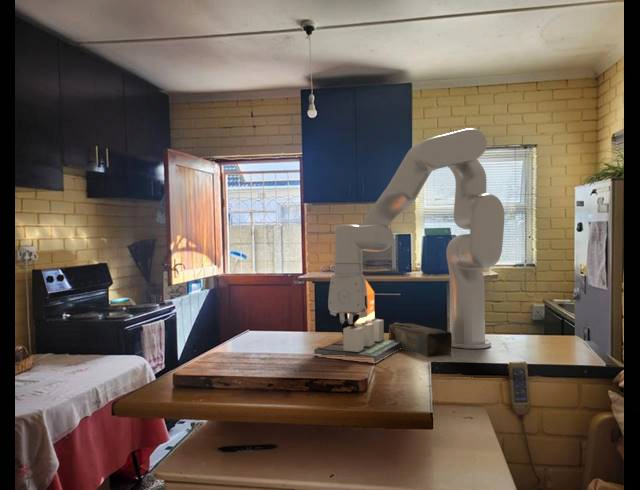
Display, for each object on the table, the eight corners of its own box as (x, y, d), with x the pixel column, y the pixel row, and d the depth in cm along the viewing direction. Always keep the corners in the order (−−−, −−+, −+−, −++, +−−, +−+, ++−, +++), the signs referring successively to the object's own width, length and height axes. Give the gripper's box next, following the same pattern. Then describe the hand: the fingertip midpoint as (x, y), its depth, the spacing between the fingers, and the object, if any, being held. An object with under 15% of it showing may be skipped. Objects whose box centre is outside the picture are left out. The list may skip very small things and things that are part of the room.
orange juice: (375, 338, 142) (374, 273, 142) (369, 344, 134) (368, 275, 134) (350, 337, 145) (349, 273, 145) (343, 343, 136) (342, 275, 136)
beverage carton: (410, 342, 137) (410, 320, 137) (453, 356, 120) (453, 330, 120) (388, 344, 134) (387, 322, 134) (428, 359, 117) (428, 333, 117)
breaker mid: (360, 342, 125) (360, 321, 125) (374, 344, 123) (374, 322, 123) (355, 345, 122) (355, 323, 122) (369, 346, 120) (369, 324, 120)
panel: (346, 343, 136) (346, 335, 136) (401, 348, 128) (401, 340, 128) (314, 356, 119) (314, 347, 119) (375, 364, 111) (375, 354, 111)
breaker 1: (349, 347, 119) (349, 325, 119) (363, 349, 117) (363, 326, 117) (343, 350, 116) (343, 327, 116) (358, 352, 114) (357, 328, 114)
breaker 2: (370, 338, 131) (370, 317, 131) (383, 339, 129) (383, 318, 129) (365, 340, 128) (365, 319, 128) (379, 341, 126) (378, 320, 126)
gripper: (317, 270, 125) (317, 337, 125) (368, 271, 118) (368, 343, 118) (330, 269, 132) (330, 333, 132) (379, 270, 125) (379, 338, 124)
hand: (348, 337), depth 125 cm, fingers closed
